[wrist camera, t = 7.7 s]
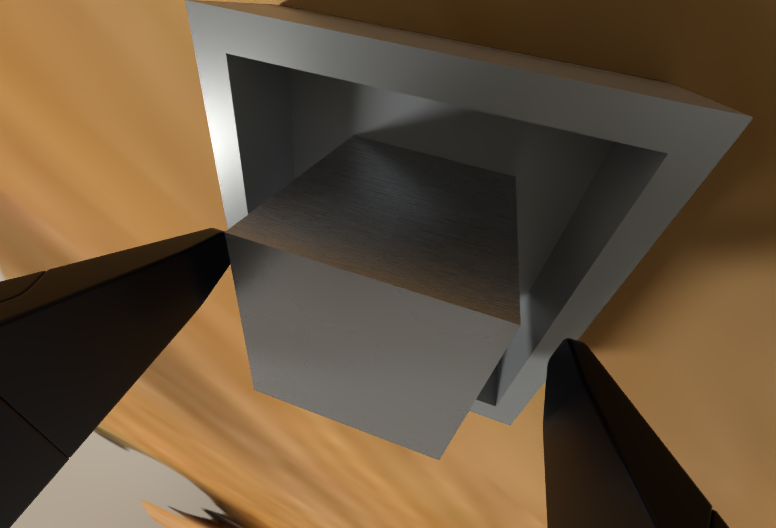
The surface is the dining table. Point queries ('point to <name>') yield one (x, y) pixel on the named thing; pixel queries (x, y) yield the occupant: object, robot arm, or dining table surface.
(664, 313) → the dining table surface
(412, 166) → the metal box
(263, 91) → the tote
